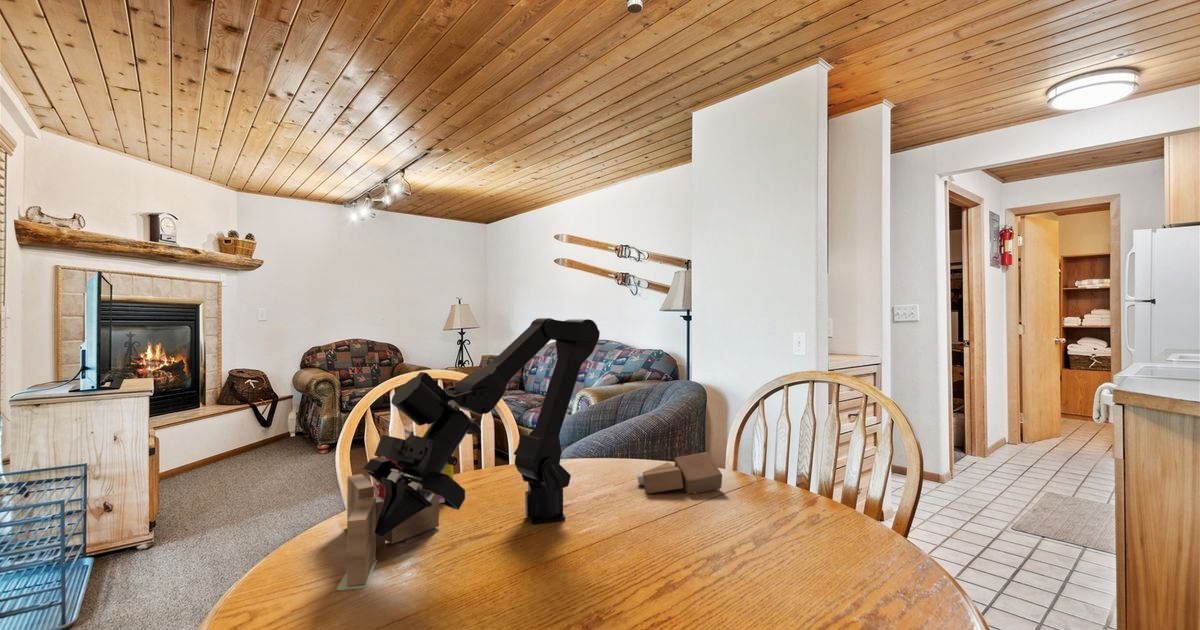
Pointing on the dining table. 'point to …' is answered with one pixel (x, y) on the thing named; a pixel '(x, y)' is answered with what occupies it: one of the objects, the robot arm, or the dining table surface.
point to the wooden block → (683, 475)
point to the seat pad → (344, 585)
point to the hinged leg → (361, 541)
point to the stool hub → (405, 531)
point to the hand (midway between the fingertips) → (377, 534)
